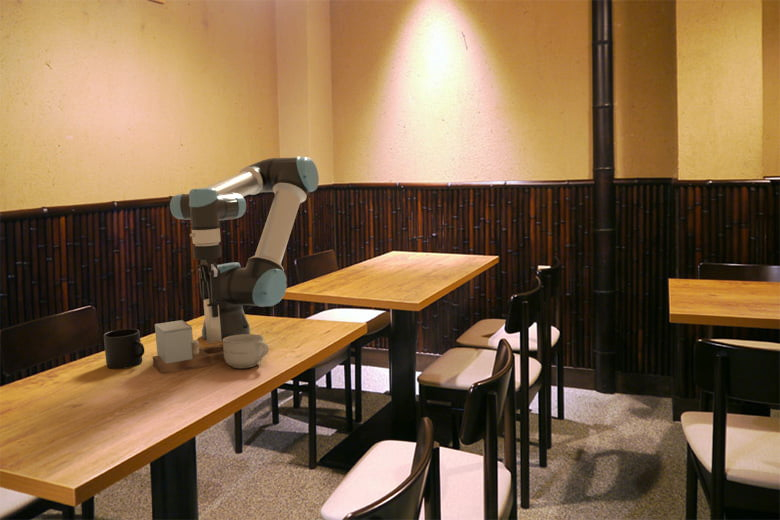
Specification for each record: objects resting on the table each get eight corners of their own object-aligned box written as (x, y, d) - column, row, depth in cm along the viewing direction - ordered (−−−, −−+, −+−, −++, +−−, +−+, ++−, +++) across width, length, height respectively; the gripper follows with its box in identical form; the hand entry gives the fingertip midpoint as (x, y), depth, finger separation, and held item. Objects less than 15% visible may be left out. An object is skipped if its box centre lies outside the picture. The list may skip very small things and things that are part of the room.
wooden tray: (222, 352, 197) (220, 332, 196) (233, 360, 189) (231, 339, 188) (153, 365, 187) (151, 344, 186) (162, 374, 179) (160, 352, 178)
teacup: (216, 366, 183) (214, 338, 182) (249, 357, 191) (247, 330, 190) (246, 376, 174) (244, 346, 173) (280, 366, 182) (278, 337, 181)
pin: (205, 340, 191) (201, 299, 189) (218, 338, 193) (215, 297, 191) (209, 343, 187) (205, 301, 186) (223, 341, 190) (220, 299, 188)
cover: (184, 350, 191) (182, 319, 190) (194, 358, 183) (191, 326, 181) (157, 355, 187) (154, 324, 186) (166, 363, 179) (163, 331, 178)
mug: (133, 371, 182) (130, 338, 181) (99, 367, 186) (95, 336, 185) (157, 361, 191) (154, 330, 190) (123, 358, 195) (120, 327, 194)
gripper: (184, 242, 191) (191, 323, 195) (201, 248, 177) (208, 334, 180) (210, 240, 195) (216, 319, 199) (229, 245, 181) (235, 330, 184)
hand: (212, 326), depth 190 cm, fingers closed on pin, 4 cm apart
